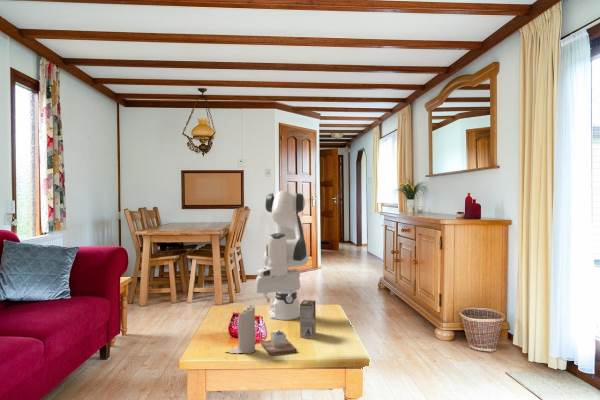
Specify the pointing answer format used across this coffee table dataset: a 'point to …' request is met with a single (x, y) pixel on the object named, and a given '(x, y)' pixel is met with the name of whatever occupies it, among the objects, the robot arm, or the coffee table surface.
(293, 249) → the robot arm
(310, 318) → the coffee box
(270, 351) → the post board
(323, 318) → the coffee table surface
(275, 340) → the collar
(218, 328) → the coffee table surface
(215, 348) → the coffee table surface
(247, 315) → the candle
